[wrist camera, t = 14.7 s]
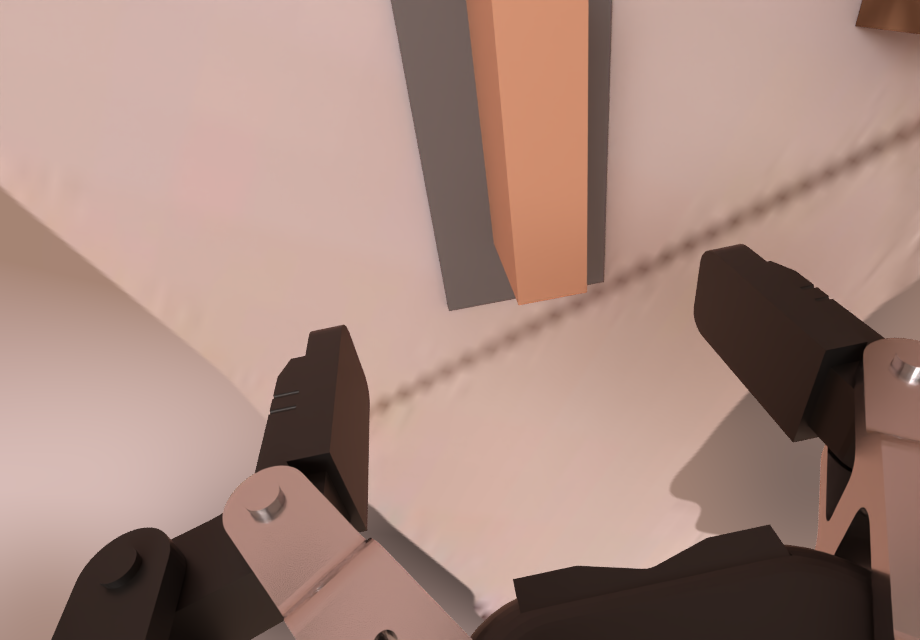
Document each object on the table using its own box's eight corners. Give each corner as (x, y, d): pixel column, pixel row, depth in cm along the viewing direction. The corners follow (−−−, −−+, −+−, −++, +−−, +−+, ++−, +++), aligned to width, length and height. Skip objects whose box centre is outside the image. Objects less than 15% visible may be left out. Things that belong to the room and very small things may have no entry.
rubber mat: (363, -146, 24) (363, -148, 23) (613, -188, 24) (617, -191, 24) (448, 307, 39) (448, 311, 39) (601, 278, 39) (603, 281, 39)
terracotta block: (462, -31, 26) (489, -30, 20) (537, -45, 27) (588, -47, 20) (493, 243, 36) (518, 305, 29) (549, 232, 36) (586, 292, 29)
